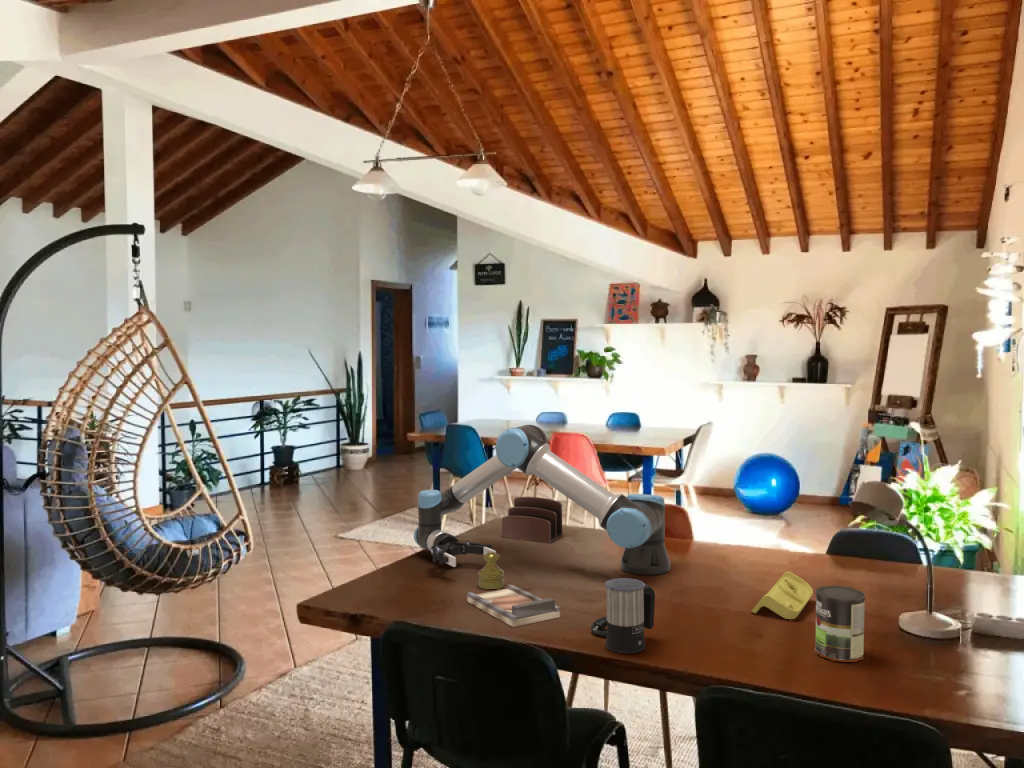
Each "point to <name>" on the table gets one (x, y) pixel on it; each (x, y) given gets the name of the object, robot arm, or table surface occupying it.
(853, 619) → the coffee can
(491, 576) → the gold chess piece
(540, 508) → the letter holder
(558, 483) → the robot arm
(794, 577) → the plastic component
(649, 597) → the milk frother
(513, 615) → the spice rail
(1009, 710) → the table surface
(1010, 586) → the table surface
